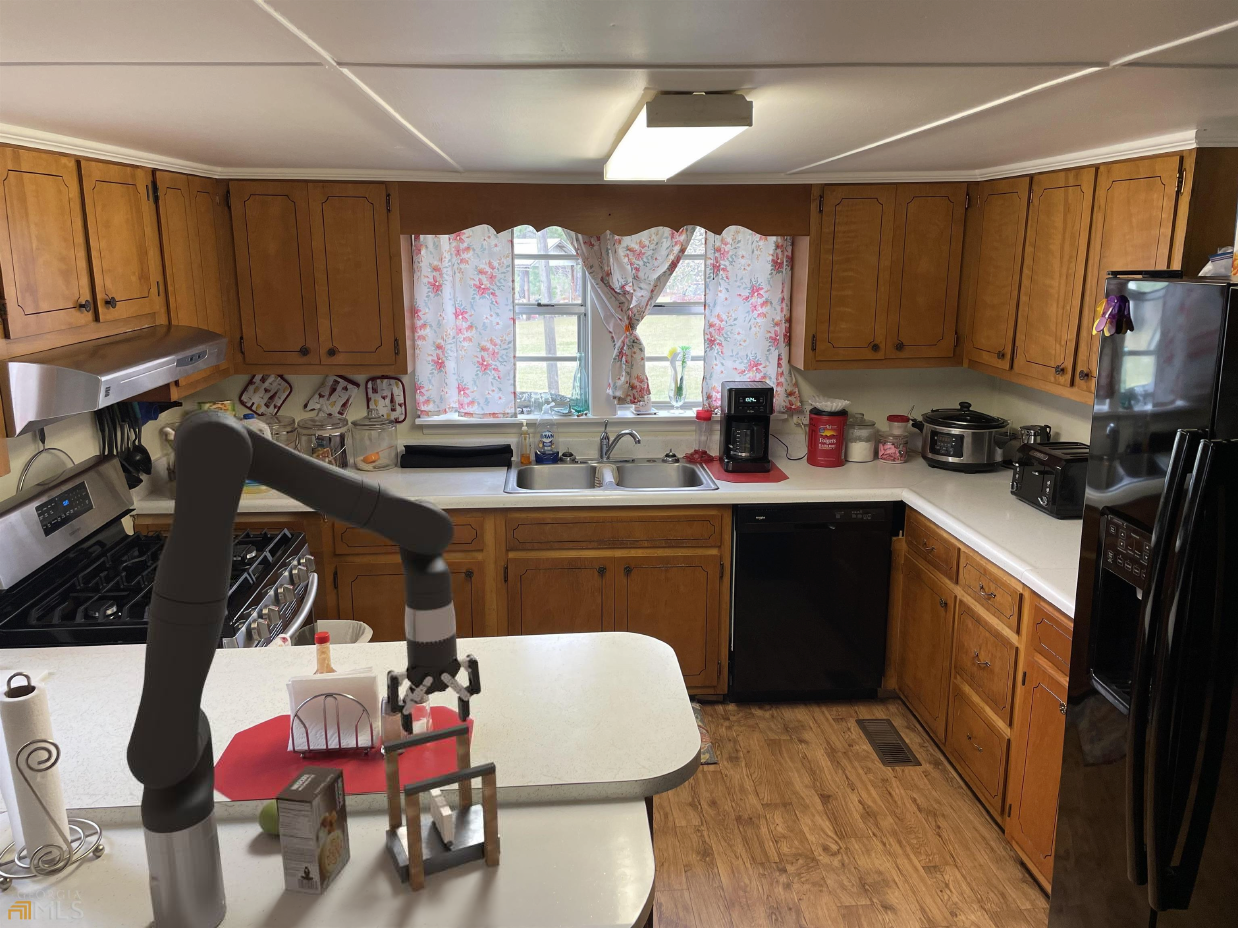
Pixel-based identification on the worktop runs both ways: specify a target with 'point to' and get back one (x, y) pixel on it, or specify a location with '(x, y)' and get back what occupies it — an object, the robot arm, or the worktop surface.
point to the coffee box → (313, 829)
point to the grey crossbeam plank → (449, 779)
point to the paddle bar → (442, 816)
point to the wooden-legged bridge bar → (425, 738)
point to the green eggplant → (269, 818)
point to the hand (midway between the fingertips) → (436, 726)
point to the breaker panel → (441, 843)
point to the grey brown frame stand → (464, 802)
